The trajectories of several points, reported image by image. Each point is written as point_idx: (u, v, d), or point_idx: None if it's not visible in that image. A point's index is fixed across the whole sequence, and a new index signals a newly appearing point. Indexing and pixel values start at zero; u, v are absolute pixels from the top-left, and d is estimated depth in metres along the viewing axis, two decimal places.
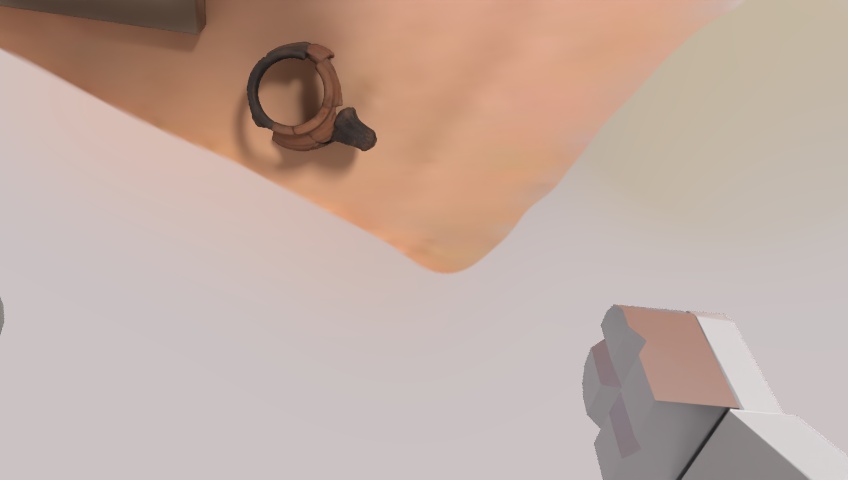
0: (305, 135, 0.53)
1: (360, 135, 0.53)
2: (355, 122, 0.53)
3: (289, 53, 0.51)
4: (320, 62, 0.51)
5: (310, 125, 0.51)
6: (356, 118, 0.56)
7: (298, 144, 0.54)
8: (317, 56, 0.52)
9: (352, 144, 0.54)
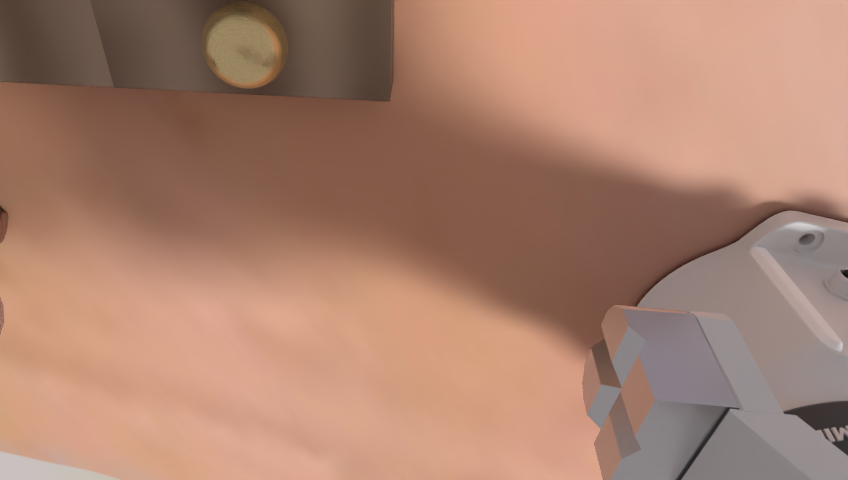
0: None
1: None
2: None
3: None
4: None
5: None
6: None
7: None
8: None
9: None
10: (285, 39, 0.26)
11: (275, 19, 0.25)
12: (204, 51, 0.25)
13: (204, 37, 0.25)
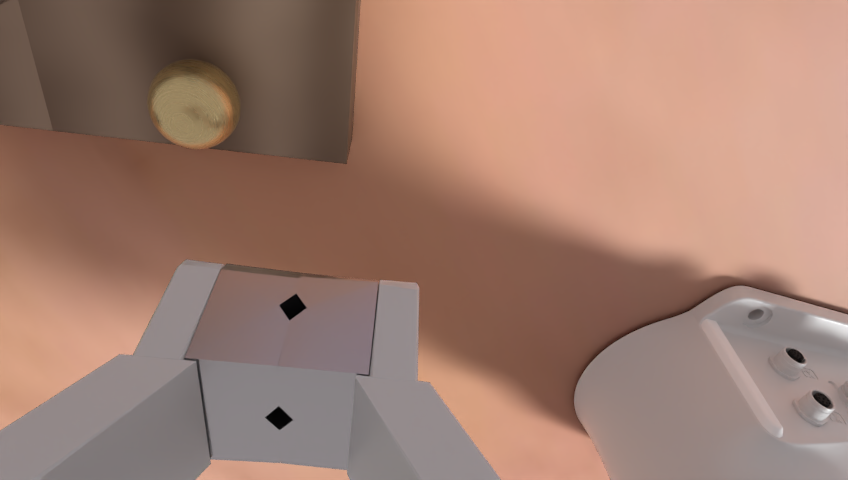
0: None
1: None
2: None
3: None
4: None
5: None
6: None
7: None
8: None
9: None
10: (237, 101, 0.25)
11: (228, 81, 0.24)
12: (149, 110, 0.24)
13: (150, 96, 0.23)
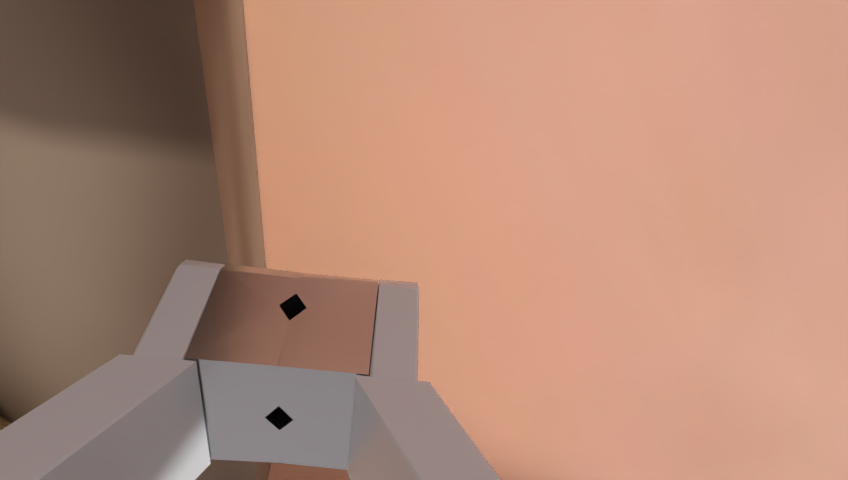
0: None
1: None
2: None
3: None
4: None
5: None
6: None
7: None
8: None
9: None
10: None
11: None
12: None
13: None
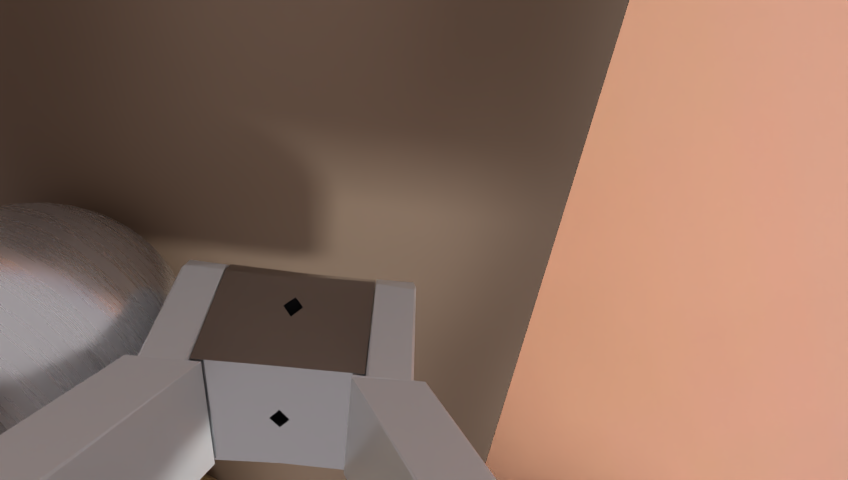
0: None
1: None
2: None
3: None
4: None
5: None
6: None
7: None
8: None
9: None
10: None
11: None
12: None
13: None
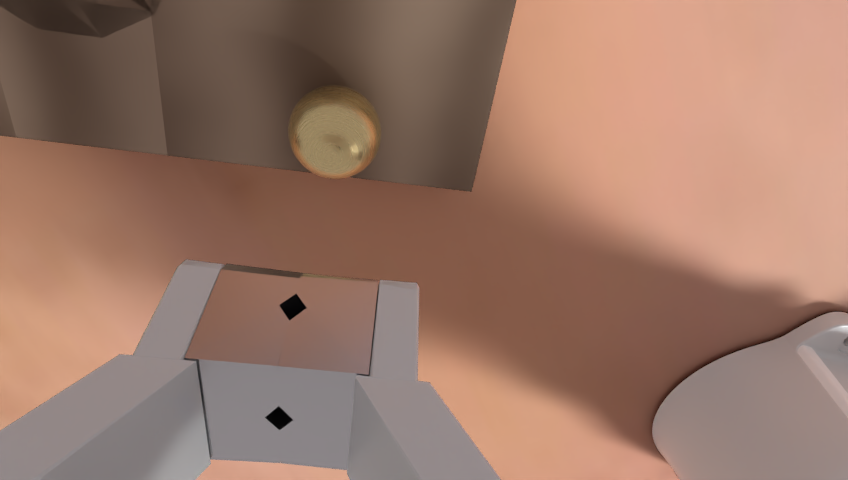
0: None
1: None
2: None
3: None
4: None
5: None
6: None
7: None
8: None
9: None
10: (380, 129, 0.23)
11: (373, 108, 0.23)
12: (293, 139, 0.22)
13: (296, 125, 0.22)
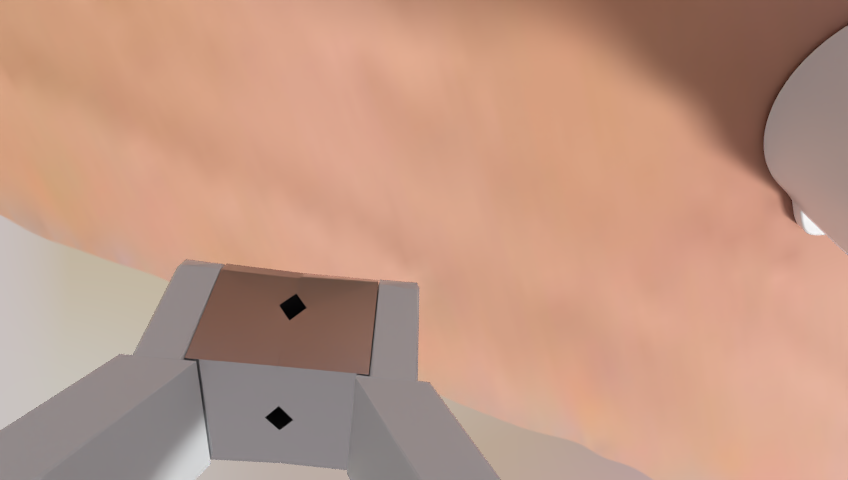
0: None
1: None
2: None
3: None
4: None
5: None
6: None
7: None
8: None
9: None
10: None
11: None
12: None
13: None
